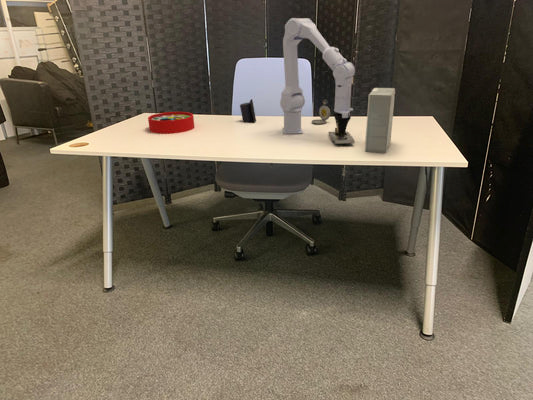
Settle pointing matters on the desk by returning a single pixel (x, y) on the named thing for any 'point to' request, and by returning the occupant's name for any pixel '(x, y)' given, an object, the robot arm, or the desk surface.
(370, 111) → the hard drive box
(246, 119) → the speaker
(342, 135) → the brass pin
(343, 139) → the square cutout plate
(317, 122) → the pocket watch
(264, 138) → the desk surface
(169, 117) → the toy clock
